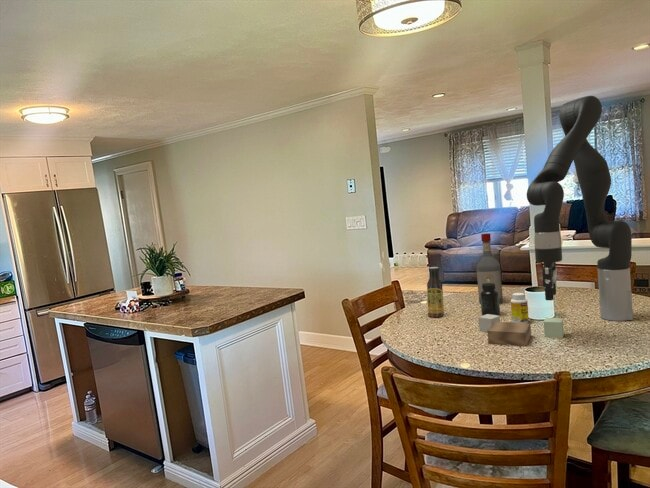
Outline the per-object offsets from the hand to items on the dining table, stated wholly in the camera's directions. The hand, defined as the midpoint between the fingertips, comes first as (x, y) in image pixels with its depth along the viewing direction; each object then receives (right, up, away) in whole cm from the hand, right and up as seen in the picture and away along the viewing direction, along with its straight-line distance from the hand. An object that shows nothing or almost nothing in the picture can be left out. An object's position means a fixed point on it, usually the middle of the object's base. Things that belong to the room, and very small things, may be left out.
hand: (551, 297), depth 140 cm
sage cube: (+2, -12, +1) cm, 12 cm away
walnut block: (-12, -14, +1) cm, 18 cm away
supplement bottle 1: (-7, -11, +33) cm, 35 cm away
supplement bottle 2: (-1, -11, +19) cm, 22 cm away
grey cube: (-14, -13, +13) cm, 23 cm away
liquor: (+1, -9, +52) cm, 53 cm away
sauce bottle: (-26, -13, +40) cm, 49 cm away
